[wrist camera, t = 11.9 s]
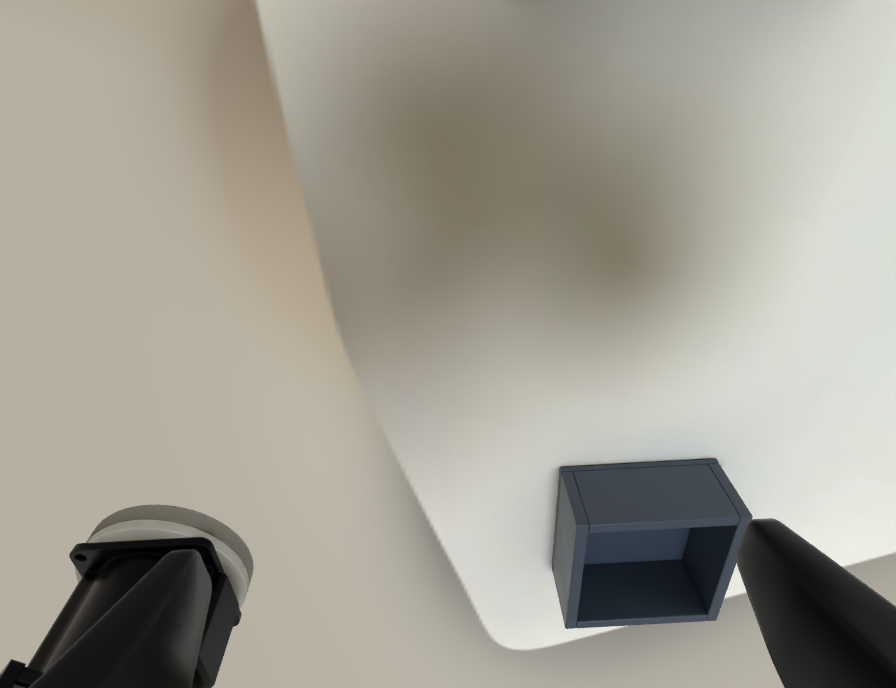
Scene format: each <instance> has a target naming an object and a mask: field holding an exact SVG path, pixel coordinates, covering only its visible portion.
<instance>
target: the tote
mask: <svg viewBox="0 0 896 688" xmlns="http://www.w3.org/2000/svg"><path fill="white" fill-rule="evenodd" d="M750 520H752V515H751V513H750V511H749V510H748V508H747V507H746V505H745V504H744V502H743V500H742V499H741V497H740V496H739V494H738V493H737V491H736V490H735V488H734V486H733V485H732V483H731V482H730V480H729V479H728V477H727V475H726V474H725V472H724V471H723V469H722V468H721V466H720V465H719V463H718V461H717V459H701V460H683V461H665V462H646V463H628V464H610V465H591V466H573V467H560V475H559V487H558V499H557V511H556V524H555V536H554V548H553V560H552V570H553V574H554V579H555V583H556V588H557V592H558V597H559V602H560V606H561V611H562V615H563V620H564V624H565V628H566V629H569V628H589V627H607V626H625V625H641V624H660V623H661V624H662V623H679V622H698V621H715V620H716V619H717V616H718V614H719V611H720V608H721V605H722V602H723V599H724V597H725V594H726V591H727V588H728V585H729V582H730V580H731V577H732V574H733V571H734V568H735V565H736V563H737V561H736V552H737V548H738V545H739V543H740V540H741V537H742V534H743V531H744V528H745V525H746V523H747V522H748V521H750Z"/></svg>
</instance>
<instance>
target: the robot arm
mask: <svg viewBox="0 0 896 688" xmlns="http://www.w3.org/2000/svg"><path fill="white" fill-rule="evenodd" d="M69 556H70V559H71V561H72V562H73V564H74V565H75V567H76V569H77V570H78V572H79V573H80V575H81V577H82V578H81V580H80V581H79V583H78V585H77V586H76V588H75V590H74V591H73V593H72V595H71V596H70V598H69V599H68V601H67V603H66V604H65V606H64V608H63V610H62V611H61V612H60V614H59V616H58V617H57V619H56V621H55V622H54V624H53V625H52V627H51V629H50V630H49V632H48V634H47V635H46V637H45V639H44V640H43V642H42V643H41V645H40V647H39V648H38V650H37V652H36V653H35V655H34V656H33V658H32V660H31V661H30V663H29V665H28V666H27V667H25V665H26V664H25V663H22V662H19V661H16V660H13V659H11V660H10V662H9V663H8V664H7V665H6V667H5V668H4V669H3V670H2V672H1V673H0V688H212V686H213V685H214V684H215V681H216V677H217V675H218V671H219V668H220V665H221V662H222V659H223V656H224V653H225V649H226V646H227V643H228V640H229V637H230V634H231V631H232V628H233V627H234V626H236V625H238V624H239V621H240V618H241V612H240V609H239V603H238V600H237V598H236V595H235V593H234V590H233V588H232V586H231V583H230V581H229V578H228V576H227V575H226V574H225V572H224V570H223V567H222V565H221V562H220V560H219V557H218V555H217V552H216V550H215V547H214V545H213V543H212V542H211V540H209V539H207V538H204V537H188V538H170V539H152V540H133V541H115V542H97V543H81V544H77V545H75V547H74V548H73V550H72V551H71V553H70V555H69ZM736 561H737V565H738V569H739V571H740V574H741V577H742V580H743V583H744V585H745V588H746V591H747V594H748V596H749V599H750V602H751V604H752V607H753V610H754V612H755V616H756V618H757V621H758V624H759V627H760V630H761V632H762V635H763V637H764V641H765V643H766V646H767V649H768V651H769V654H770V656H771V659H772V661H773V664H774V666H775V668H776V670H777V673H778V675H779V677H780V679H781V681H782V683H783V685H784V687H785V688H896V606H895V605H893V604H892V603H891V602H889V601H888V600H886V599H885V598H884V597H882V596H881V595H880V594H878V593H877V592H875V591H874V590H873V589H871V588H870V587H869V586H867V585H866V584H865V583H863V582H862V581H860V580H859V579H858V578H856V577H855V576H854V575H852V574H851V573H849V572H848V571H847V570H845V569H844V568H843V567H841V566H840V565H839V564H837V563H836V562H835V561H833V560H832V559H830V558H829V557H828V556H826V555H825V554H824V553H822V552H821V551H819V550H818V549H817V548H815V547H814V546H813V545H811V544H810V543H809V542H807V541H806V540H804V539H803V538H802V537H800V536H799V535H798V534H796V533H795V532H794V531H792V530H791V529H789V528H788V527H787V526H785V525H784V524H783V523H781V522H780V521H778V520H776V519H770V518H769V519H752V520H750V521H748V522H747V523H746V525H745V528H744V531H743V534H742V537H741V540H740V543H739V545H738V548H737V552H736Z"/></svg>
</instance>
